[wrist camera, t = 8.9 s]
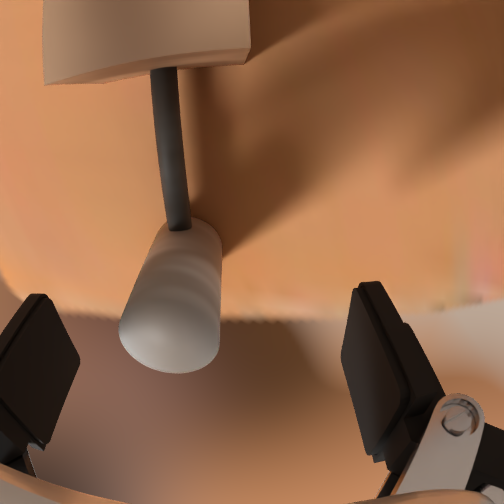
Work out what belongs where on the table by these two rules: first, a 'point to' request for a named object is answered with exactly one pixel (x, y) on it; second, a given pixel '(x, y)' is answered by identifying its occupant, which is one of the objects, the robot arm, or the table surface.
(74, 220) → the table surface
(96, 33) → the tan block with knob
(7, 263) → the table surface
